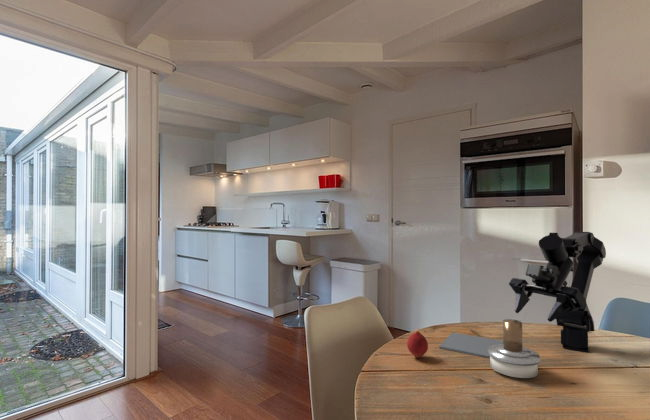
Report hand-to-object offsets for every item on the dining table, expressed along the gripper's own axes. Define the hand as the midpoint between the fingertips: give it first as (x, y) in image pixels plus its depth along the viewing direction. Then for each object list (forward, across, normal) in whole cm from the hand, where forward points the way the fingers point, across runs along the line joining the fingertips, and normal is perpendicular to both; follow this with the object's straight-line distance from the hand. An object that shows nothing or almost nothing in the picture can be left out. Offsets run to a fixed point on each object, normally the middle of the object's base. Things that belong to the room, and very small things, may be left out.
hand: (531, 316), depth 95 cm
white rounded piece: (+15, 0, +4) cm, 16 cm away
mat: (+11, -18, +8) cm, 23 cm away
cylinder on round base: (+12, 0, +1) cm, 12 cm away
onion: (+27, -18, -8) cm, 33 cm away
